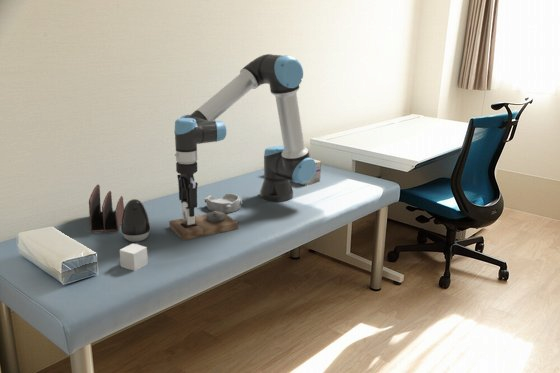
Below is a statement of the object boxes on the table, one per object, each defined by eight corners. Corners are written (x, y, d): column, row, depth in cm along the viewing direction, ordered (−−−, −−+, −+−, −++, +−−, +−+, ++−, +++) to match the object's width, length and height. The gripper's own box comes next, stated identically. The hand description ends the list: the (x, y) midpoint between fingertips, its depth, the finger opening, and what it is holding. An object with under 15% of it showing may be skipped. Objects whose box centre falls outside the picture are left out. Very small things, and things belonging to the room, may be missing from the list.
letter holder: (90, 233, 193) (87, 197, 189) (99, 214, 212) (96, 181, 207) (118, 232, 195) (115, 196, 190) (124, 213, 213) (122, 180, 209)
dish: (200, 208, 222) (200, 197, 220) (225, 200, 231) (225, 190, 230) (222, 217, 212) (222, 205, 210) (247, 209, 221) (247, 198, 220)
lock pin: (191, 228, 199) (190, 199, 195) (196, 231, 195) (195, 202, 192) (181, 230, 196) (180, 201, 193) (185, 233, 193) (185, 204, 190)
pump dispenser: (122, 246, 183) (118, 205, 178) (121, 235, 192) (118, 196, 187) (151, 243, 185) (149, 203, 181) (150, 232, 195) (148, 194, 190)
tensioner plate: (221, 218, 210) (221, 203, 208) (237, 229, 199) (237, 214, 197) (169, 228, 199) (168, 213, 197) (183, 241, 188) (182, 225, 186)
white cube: (133, 259, 173) (132, 243, 171) (147, 264, 170) (146, 247, 169) (120, 266, 168) (119, 249, 166) (134, 271, 165) (133, 253, 163)
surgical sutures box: (320, 181, 262) (321, 161, 258) (306, 186, 254) (307, 165, 251) (283, 171, 278) (283, 152, 275) (269, 175, 270) (269, 155, 267)
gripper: (168, 157, 193) (170, 216, 200) (185, 168, 179) (188, 231, 186) (187, 155, 196) (189, 213, 204) (205, 165, 183) (207, 227, 190)
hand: (188, 221), depth 195 cm, fingers closed on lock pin, 4 cm apart
